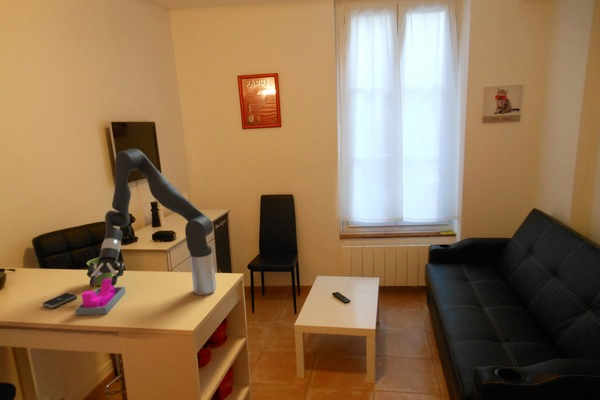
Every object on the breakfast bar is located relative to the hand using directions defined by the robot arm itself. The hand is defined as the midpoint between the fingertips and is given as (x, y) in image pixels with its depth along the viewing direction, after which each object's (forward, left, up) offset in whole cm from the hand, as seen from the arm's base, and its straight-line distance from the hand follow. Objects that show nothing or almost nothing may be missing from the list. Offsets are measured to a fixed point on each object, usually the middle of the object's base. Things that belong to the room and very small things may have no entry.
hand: (102, 285), depth 165 cm
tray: (0, +2, -7) cm, 7 cm away
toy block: (0, +3, -7) cm, 7 cm away
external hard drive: (+19, -1, -8) cm, 21 cm away
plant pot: (+9, -20, -7) cm, 23 cm away
